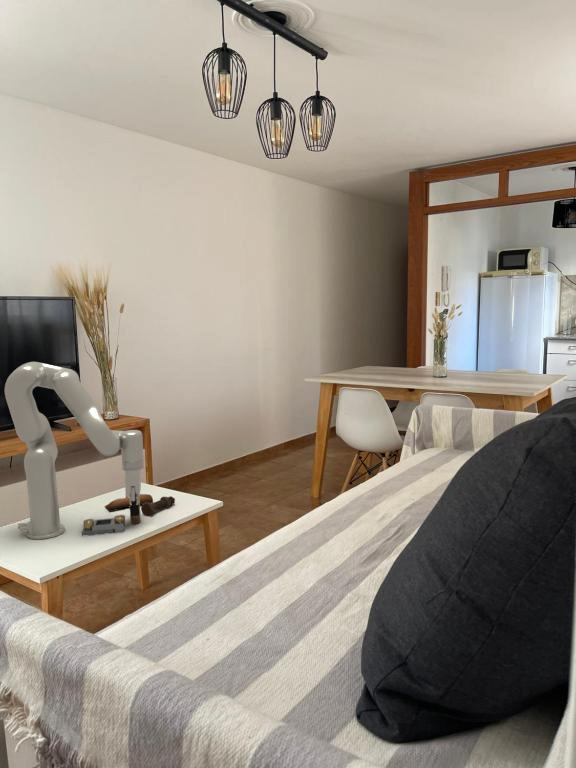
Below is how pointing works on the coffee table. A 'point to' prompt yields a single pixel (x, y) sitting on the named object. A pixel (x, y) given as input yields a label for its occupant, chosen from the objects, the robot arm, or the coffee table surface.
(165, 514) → the coffee table surface
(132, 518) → the link pin
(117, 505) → the sunglasses case
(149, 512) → the bolt
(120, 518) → the brass knob on bracket
